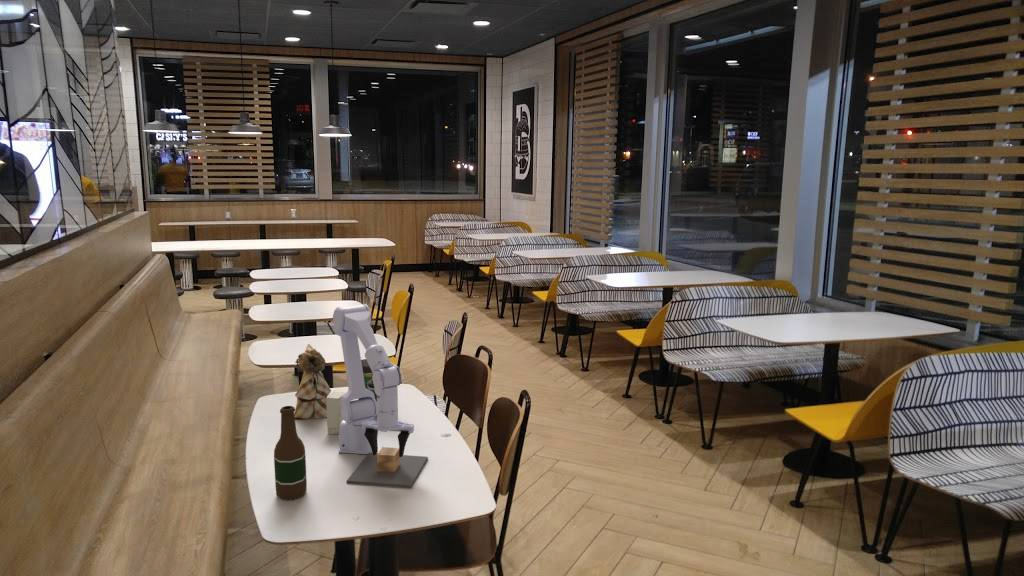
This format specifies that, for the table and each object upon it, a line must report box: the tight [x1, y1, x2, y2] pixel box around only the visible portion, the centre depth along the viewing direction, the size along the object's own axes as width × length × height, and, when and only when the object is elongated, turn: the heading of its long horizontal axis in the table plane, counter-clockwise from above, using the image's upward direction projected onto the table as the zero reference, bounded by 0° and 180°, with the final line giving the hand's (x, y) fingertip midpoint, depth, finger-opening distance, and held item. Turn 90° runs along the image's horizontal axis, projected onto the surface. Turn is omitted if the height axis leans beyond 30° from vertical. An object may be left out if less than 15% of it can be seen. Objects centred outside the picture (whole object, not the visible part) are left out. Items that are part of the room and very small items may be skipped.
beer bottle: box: [273, 405, 308, 501], centre depth 177 cm, size 8×8×24 cm
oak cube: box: [377, 446, 400, 472], centre depth 193 cm, size 5×5×5 cm
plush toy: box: [294, 343, 332, 420], centre depth 232 cm, size 14×14×25 cm
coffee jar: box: [357, 359, 377, 402], centre depth 237 cm, size 10×8×19 cm
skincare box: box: [326, 391, 346, 435], centre depth 219 cm, size 6×4×12 cm
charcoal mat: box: [346, 452, 429, 489], centre depth 193 cm, size 18×18×1 cm
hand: (388, 454), depth 192 cm, fingers open, 7 cm apart
